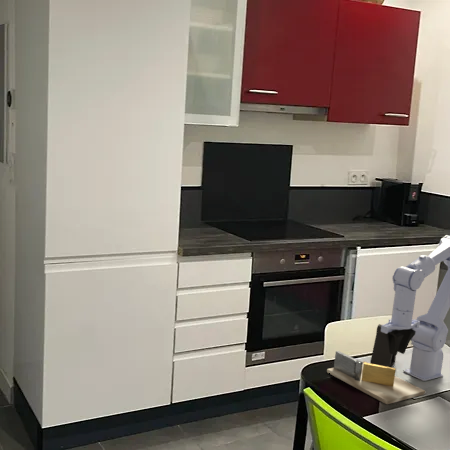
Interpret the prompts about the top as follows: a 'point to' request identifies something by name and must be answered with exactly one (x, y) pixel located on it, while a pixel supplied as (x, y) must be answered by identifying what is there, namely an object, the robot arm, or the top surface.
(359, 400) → the top surface
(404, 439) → the top surface
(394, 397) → the maple board
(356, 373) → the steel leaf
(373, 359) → the door stopper
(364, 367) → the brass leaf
